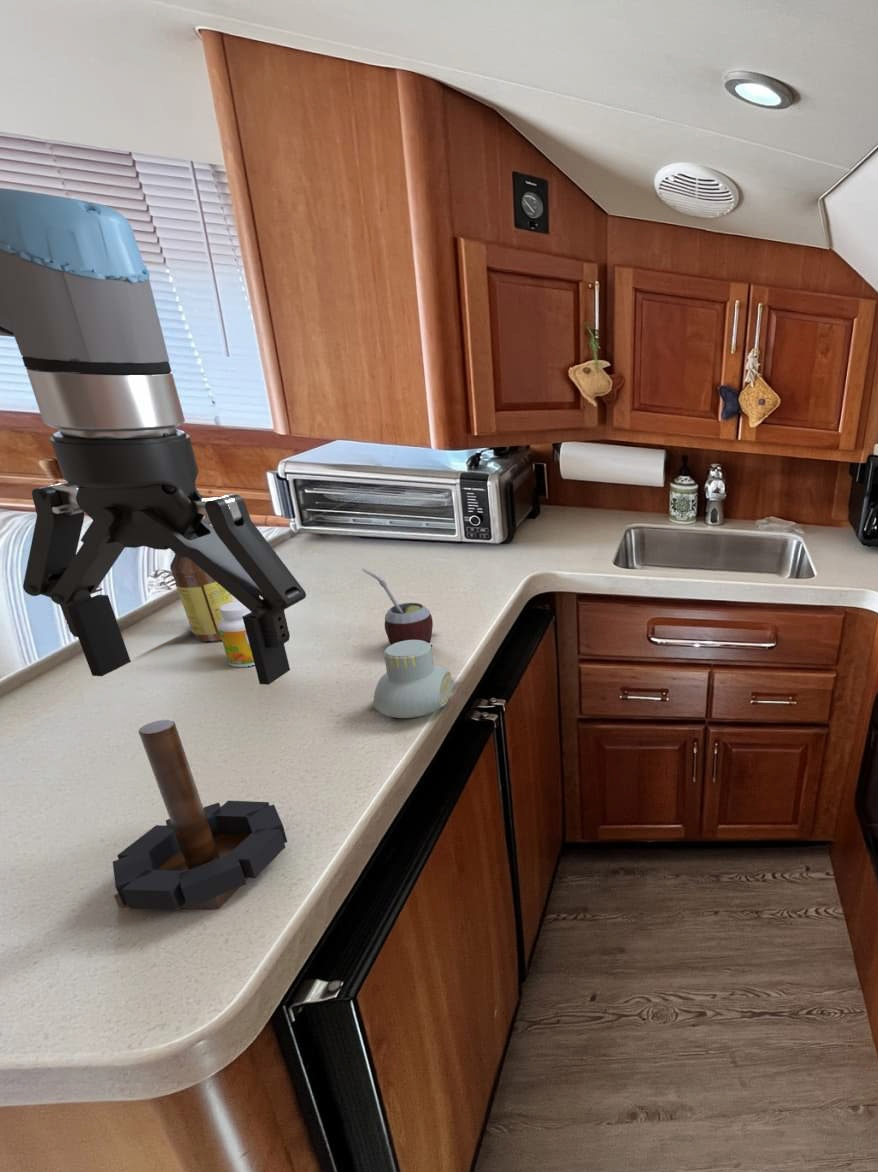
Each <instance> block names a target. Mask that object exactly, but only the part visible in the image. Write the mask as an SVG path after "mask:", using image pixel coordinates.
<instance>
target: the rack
mask: <svg viewBox="0 0 878 1172" xmlns="http://www.w3.org/2000/svg"><path fill="white" fill-rule="evenodd" d="M138 735H139V738H140V740H141V743H142V745H143V748H144V751H145V754H146V757H147V759H148V762H149V765H150V768H151V770H152V773H153V776H154V779H155V782H156V784H157V787H158V790H159V792H160V795H161V799H162V801H163V804H164V807H165V810H166V812H167V815H168V817H169V818H168V819H170V820H171V823H172V826H173V829H174V831H175V834H176V837H177V840H178V842H179V845H180V848H181V849H180V850H179V851H178V852H176V853H175V854H174V855H173V856H172V857H171V858H169V859H168V860H167V861H166V862H165V863H163V864H162V865H161V866H160V867H159V868H158V869H156V870H166V871H187V870H190V869H193V868H195V867H198V866H200V865H203V864H206V863H208V862H211V861H213V860H216V859H219V858H221V857H224V856H226V855H229V854H230V853H231V852H232V851H233V850H234V849H235V848H236V847H237V846H238V845H239V844H240V843H242V842H243V841H244V840H245V839H246V838H247V837H248V836H249V835H250V834H224V833H221V834H218V835H215V836H213V835H212V832H211V829H210V826H209V823H208V820H207V817H206V814H205V811H204V808H203V807H204V806H203V803H202V800H201V797H200V793H199V791H198V787H197V784H196V782H195V778H194V776H193V772H192V770H191V767H190V764H189V761H188V757H187V754H186V752H185V749H184V746H183V743H182V740H181V737H180V733H179V731H178V728H177V724H176V721H174V720H172V719H161V720H155V721H151V722H149V723H147V724H145V725H143V726H141V727H140V728H139V729H138ZM248 880H249V878H245V881H248ZM241 887H242V886H240V887H238V888H235V889H233V890H230V891H228V892H226V893H223V894H221V895H218V896H216V897H214V898H211V899H209V900H206V901H204V902H201V903H199V904H197V905H194V906H192V907H189V908H188V906H187V903H186V902H185V903H184V904H183V905H182V906H181V907H180V908H179V909H196V910H197V909H198V910H199V909H200V910H201V909H202V910H203V909H204V910H205V909H207V910H210V909H211V910H219V909H221V907H222V906H223V905H224V904H225V903H227V901H228V900H229V899H230V898H231V897H232V896H233V895H234V894H235V893H236V892H237V891H238V890H239V889H240V888H241ZM113 897H114V900H115V902H116V905H117V907H118V908H129V907H128V905H125V906H123V903H122V901H121V899H120V896H119V894H118V892H117V893H115V894H114V895H113Z"/></svg>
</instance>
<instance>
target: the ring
mask: <svg viewBox="0 0 878 1172" xmlns="http://www.w3.org/2000/svg"><path fill="white" fill-rule="evenodd" d="M203 808H204V811H205V814H206V817H207V820H208V823H209V826H210V829H211V832H212V835H213V836H215V835H218V834H221V833H224V834H250V835H249V836H248V837H247V838H246V839H245V840H244V841H243V842H242V843H240V844H239V845H238V846H237V847H236V848H235V849H234V850H233V851H232V852H231V853H230V854H229V855H226V856H224V857H221V858H219V859H216V860H213V861H211V862H208V863H206V864H203V865H200V866H198V867H195V868H193V869H190V870H187V871H166V870H156V869H158V868H159V867H160V866H161V865H162V864H163V863H165V862H166V861H167V860H168V859H169V858H171V857H172V856H173V855H174V854H175V853H176V852H178V851H179V850H180V849H181V848H180V845H179V842H178V840H177V837H176V834H175V831H174V829H173V826H172V823H171V820H170V818H168V819H166V820H165V825H162V824H161V825H160V824H156V825H154V826H153V827H151V828H150V829H149V830H148V831H147V832H146V833H143V835H141V836H140V837H139V838H138V839H136V840H135V841H134V842H132V843H131V844H130V845H129V846H127V847H126V848H125V849H123V850H122V851H121V852H119V853H118V854H117V858H118V859H115V860H113V861H112V868H113V876H114V877H113V878H114V885H115V889H116V892H117V893H118V894H119V896H120V899H121V901H122V903H123V906H125V905H128V907H127V908H128V909H129V910H143V911H144V910H146V911H149V910H151V911H178V910H179V909H181V908H180V907H181V906H182V905H183V904H184V903H185V902H186V903H187V906H188V908H187V909H190V908H189V907H192V906H194V905H197V904H199V903H201V902H204V901H206V900H209V899H211V898H214V897H216V896H218V895H221V894H223V893H226V892H228V891H230V890H233V889H235V888H238V887H240V886H241V887H243V886H245V885H246V884H247V882H246V881H247V880H246V881H245V878H248V879H256V878H257V877H258V876H259V875H260V874H261V873H262V872H263V871H264V870H265V869H266V868H267V867H268V866H269V865H270V864H271V863H272V861H273V860H275V859H276V858H277V857H278V855H280V853H281V852H282V851H284V850H285V848H286V845H285V844H286V843H288V839H287V834H286V832H285V828H284V824H283V821H282V820H281V817H280V815H279V813H278V811H277V808H276V806H275V804H271V805H270V802H269V801H254V800H253V801H251V800H250V801H248V800H227V801H226V802H225V803H223V804H222V805H221V804H220V802H215V803H213V804H210V805H206V806H203ZM241 887H240V888H241Z"/></svg>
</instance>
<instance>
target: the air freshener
mask: <svg viewBox="0 0 878 1172" xmlns="http://www.w3.org/2000/svg"><path fill="white" fill-rule="evenodd" d="M383 658H384V664H385V670H386V673H385V674H383V675H382V676H381V677H379V680H378V682H377V684H376V686H375V690H374V694H373V705H374V708H375V710H376V711H378V712H379V713H381V714H383V715H386V716H387V717H392V718H397V719H413V718H419V717H423V716H427V715H430V714H432V713H435V712H437V711H438V710H440V709H442V708H443V707H445V706H446V704H447V703H448V700H449V698H450V694H451V691H452V675H451V672H450V671H449V670H448V669H446V668H445V667H442V666H440V665H436V664H435V662H434V656H433V651H432V646H431V645H430V644H429V643H427V642H425V641H422V640H406V641H401V642H397V643H394V644H392V645H391V644H390V645H388V646H387V647H386V648H385V649H384V650H383Z"/></svg>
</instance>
